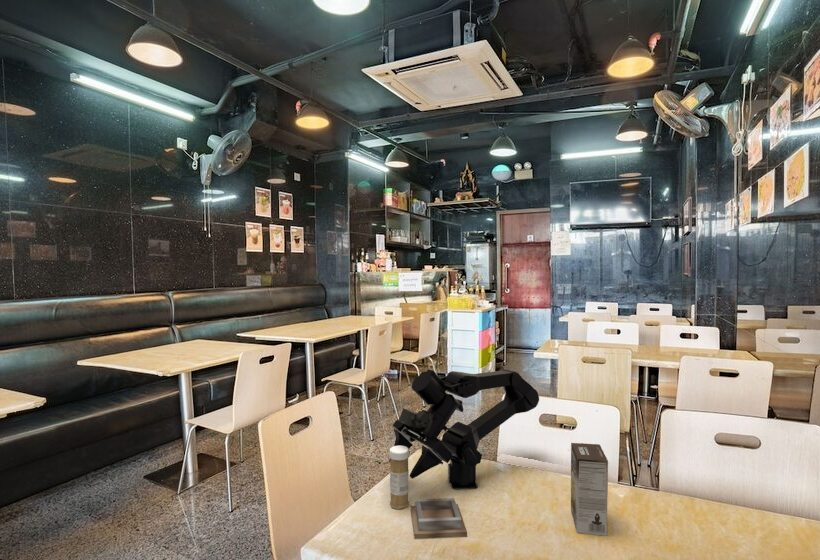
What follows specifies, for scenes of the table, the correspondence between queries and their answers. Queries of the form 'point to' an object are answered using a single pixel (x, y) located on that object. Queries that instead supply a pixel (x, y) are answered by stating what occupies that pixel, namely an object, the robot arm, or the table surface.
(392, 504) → the sprinkles bottle
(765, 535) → the table surface
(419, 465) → the robot arm
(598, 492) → the coffee box
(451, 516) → the socket board
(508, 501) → the table surface
